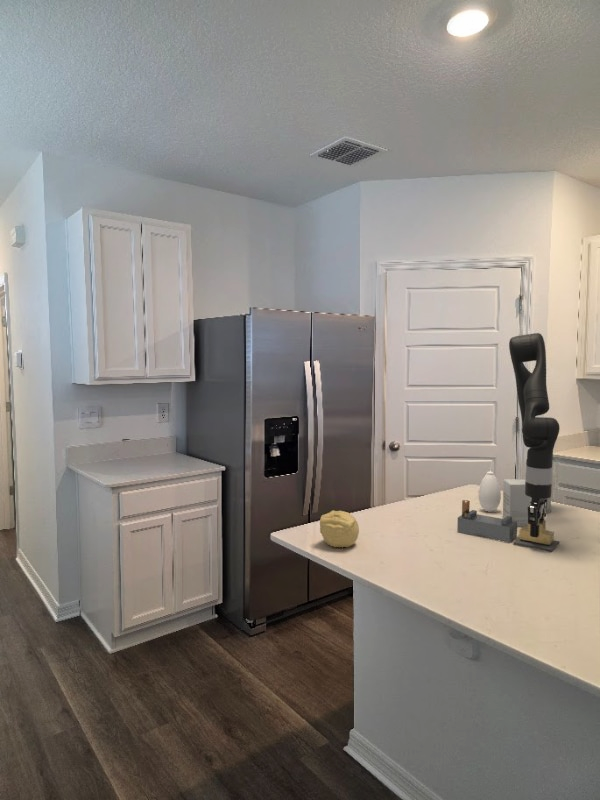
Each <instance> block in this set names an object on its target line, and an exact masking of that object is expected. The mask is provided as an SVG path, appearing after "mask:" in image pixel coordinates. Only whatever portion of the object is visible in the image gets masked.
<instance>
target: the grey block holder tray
mask: <svg viewBox="0 0 600 800" xmlns="http://www.w3.org/2000/svg"><path fill="white" fill-rule="evenodd" d="M470 505H471V503H470V500H468V499H463V500H462V501H461V515H459V516H458V517H457V525H456V526H457V528H456V529H457V530H456V531H457V533H461V534H464V535H470V536H474V537H479V538H483V539H488V538H489V539H490V540H493V539H495V540H494V541H498V540H500V541H499V542H503V541H504V542H503V543H510V544H511V542H512V541H513V540H515V539H517V536H518V526H517V521H512V517H510V516H507V517H505V518H504V519H503V518H500V517H495V516H494V517H493V516H488V515H484V514H478V513H477V512H478V511H477V510H475V509H471V510H470ZM489 539H488V540H489Z"/></svg>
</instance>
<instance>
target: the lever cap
mask: <svg viewBox="0 0 600 800" xmlns="http://www.w3.org/2000/svg"><path fill="white" fill-rule="evenodd" d="M533 521H535V519H533ZM530 525H531V524H528V526H521V528H520V529H519V530H518V531H519V532H518V533H519V535H518V538H519V539H521V540H526V541H531V542H536V543H541V544H546V545H551V544H552V543H553V541H554V540H555V531H552V530H547V526H546V525H547V520H539V529H538V537H537V538H536V537H531V536H530Z"/></svg>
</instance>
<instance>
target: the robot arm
mask: <svg viewBox="0 0 600 800" xmlns="http://www.w3.org/2000/svg"><path fill="white" fill-rule="evenodd" d="M508 347H509V348H508V349H509V355H510V359H511V364H512V368H513V372H514V373H513V374H514V377H515V385H516V387H515V388H516V394H517V400H518V401H517V402H518V405H519V406H518V407H519V411H520V415H521V416H520V417H521V433H522V434H521V435H522V440H523V444H524V446H525V447H526V448H528V449H527V453H526V461H525V462H526V463H525V464H526V466H525V479H524V480H525V494H526V495H527V496H529V497H531V498H532V499H531V502H530V504H529V506H528V507H527V508H528V524H531V525H530V536H531V537H536V538H537V537H538V529H539V520H545V518H546V517H547V514H548V513H551V511H552V510H551V508H552V491H553V490H552V488H553V487H552V486H553V485H552V484H553V459H554V457H553V455H554V448H555V445H556V442H557V439H558V436H559V434H560V430H561V429H560V424H559V421H558V420H557V419H555V418H554V417H545V416H543V415H545V414H547V413H548V412H549V410H550V402H549V401H550V399H549V395H548V388H547V355H546V353H547V352H546V351H547V350H546V343H545V339H544V337H543V335H542V333H540V332H535V333H529V334H522V335H516V336H512V337H511V338H510V339H509V344H508ZM533 361H535V365H534V368H533V370H532V372H531V371H530V370H529V369H527V367H526V365H525V364H524V363H527V362H533ZM540 416H543V417H540ZM533 518H534V519H535V521H533ZM545 521H546V520H545Z"/></svg>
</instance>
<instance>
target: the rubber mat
mask: <svg viewBox="0 0 600 800" xmlns="http://www.w3.org/2000/svg"><path fill="white" fill-rule="evenodd" d="M512 544H513V545H514V546H519V547H523V548H528V549H533V550H538V551H543V552H547V553H552V552H553V551H554V550H555V549H556V548H557V546H559V545H560V541H559V540H555V539H554V541H553V543H552V544H551V545H546V544H541V543H536V542H531V541H526V540H521V539H519V537H518V538H516V539H514V541H513V543H512Z"/></svg>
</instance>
